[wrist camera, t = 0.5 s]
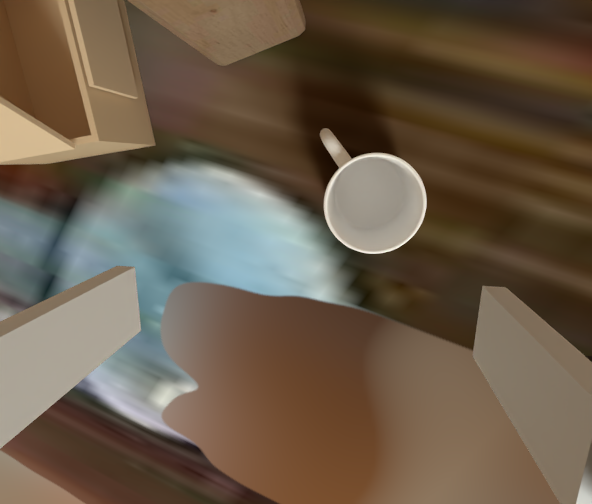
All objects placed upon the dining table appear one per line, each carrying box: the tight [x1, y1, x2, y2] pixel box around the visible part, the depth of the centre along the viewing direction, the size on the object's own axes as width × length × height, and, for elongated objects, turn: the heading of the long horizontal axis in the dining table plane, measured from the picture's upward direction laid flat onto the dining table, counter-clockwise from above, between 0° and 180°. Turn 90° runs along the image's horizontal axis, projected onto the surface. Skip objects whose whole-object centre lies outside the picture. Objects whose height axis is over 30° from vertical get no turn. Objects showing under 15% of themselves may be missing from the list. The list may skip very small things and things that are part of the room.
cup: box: [320, 128, 426, 254], centre depth 36 cm, size 8×12×10 cm
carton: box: [0, 0, 155, 164], centre depth 37 cm, size 19×15×10 cm
